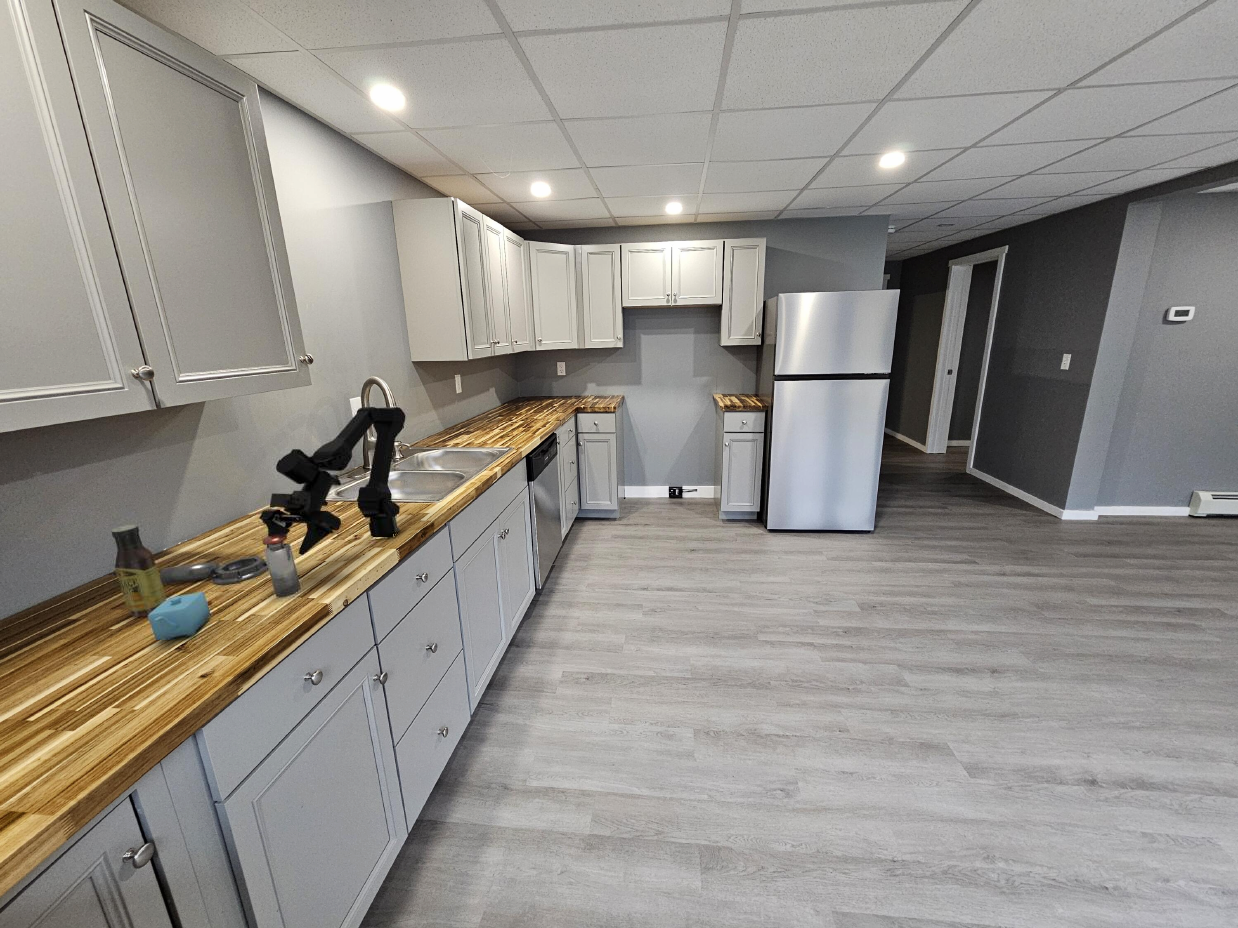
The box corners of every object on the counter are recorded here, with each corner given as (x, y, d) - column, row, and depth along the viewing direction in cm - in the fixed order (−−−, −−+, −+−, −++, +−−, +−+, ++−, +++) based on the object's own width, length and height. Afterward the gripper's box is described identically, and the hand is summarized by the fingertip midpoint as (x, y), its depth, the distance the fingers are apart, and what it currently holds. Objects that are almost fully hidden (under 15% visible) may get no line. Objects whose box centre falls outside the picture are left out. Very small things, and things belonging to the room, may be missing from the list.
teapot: (184, 647, 93) (173, 612, 91) (146, 654, 92) (134, 619, 90) (215, 615, 104) (206, 583, 102) (182, 621, 103) (172, 589, 101)
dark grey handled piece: (279, 560, 131) (275, 546, 130) (256, 580, 119) (252, 565, 118) (183, 572, 127) (179, 558, 126) (150, 594, 115) (145, 579, 114)
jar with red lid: (289, 585, 116) (275, 533, 112) (306, 586, 115) (293, 533, 111) (270, 596, 111) (255, 541, 108) (287, 597, 110) (273, 542, 106)
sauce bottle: (123, 616, 106) (93, 532, 101) (157, 602, 112) (130, 521, 107) (143, 620, 104) (113, 534, 99) (176, 604, 110) (149, 523, 105)
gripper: (257, 477, 115) (222, 538, 107) (321, 477, 111) (289, 541, 103) (293, 498, 124) (263, 556, 117) (353, 499, 120) (327, 560, 112)
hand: (284, 553), depth 112 cm, fingers open, 9 cm apart
